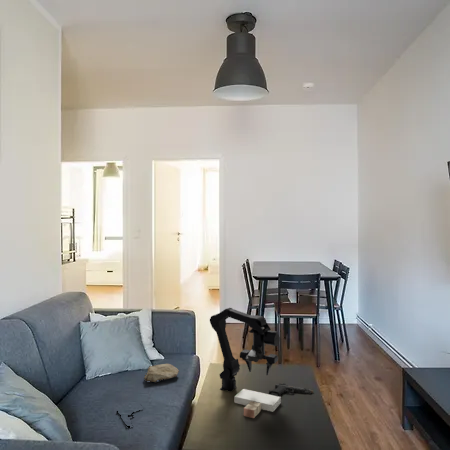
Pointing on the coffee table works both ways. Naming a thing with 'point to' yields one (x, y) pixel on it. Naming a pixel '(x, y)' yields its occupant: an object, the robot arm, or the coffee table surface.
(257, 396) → the panel
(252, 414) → the brown and pink block
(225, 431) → the coffee table surface
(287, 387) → the handgun
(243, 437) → the coffee table surface
